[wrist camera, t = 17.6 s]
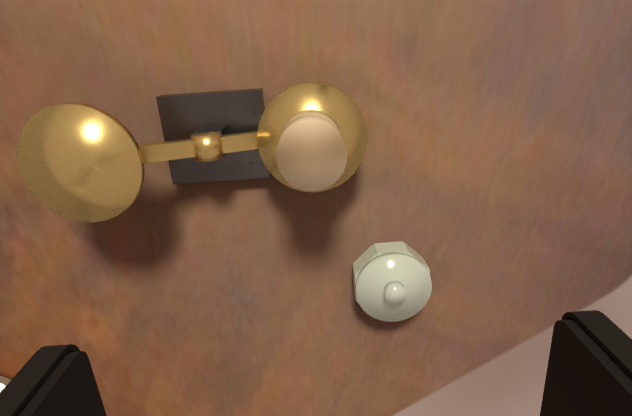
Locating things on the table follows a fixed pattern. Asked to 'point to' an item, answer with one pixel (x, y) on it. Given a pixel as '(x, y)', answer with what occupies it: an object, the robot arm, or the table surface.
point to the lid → (391, 281)
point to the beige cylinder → (311, 151)
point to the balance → (170, 145)
